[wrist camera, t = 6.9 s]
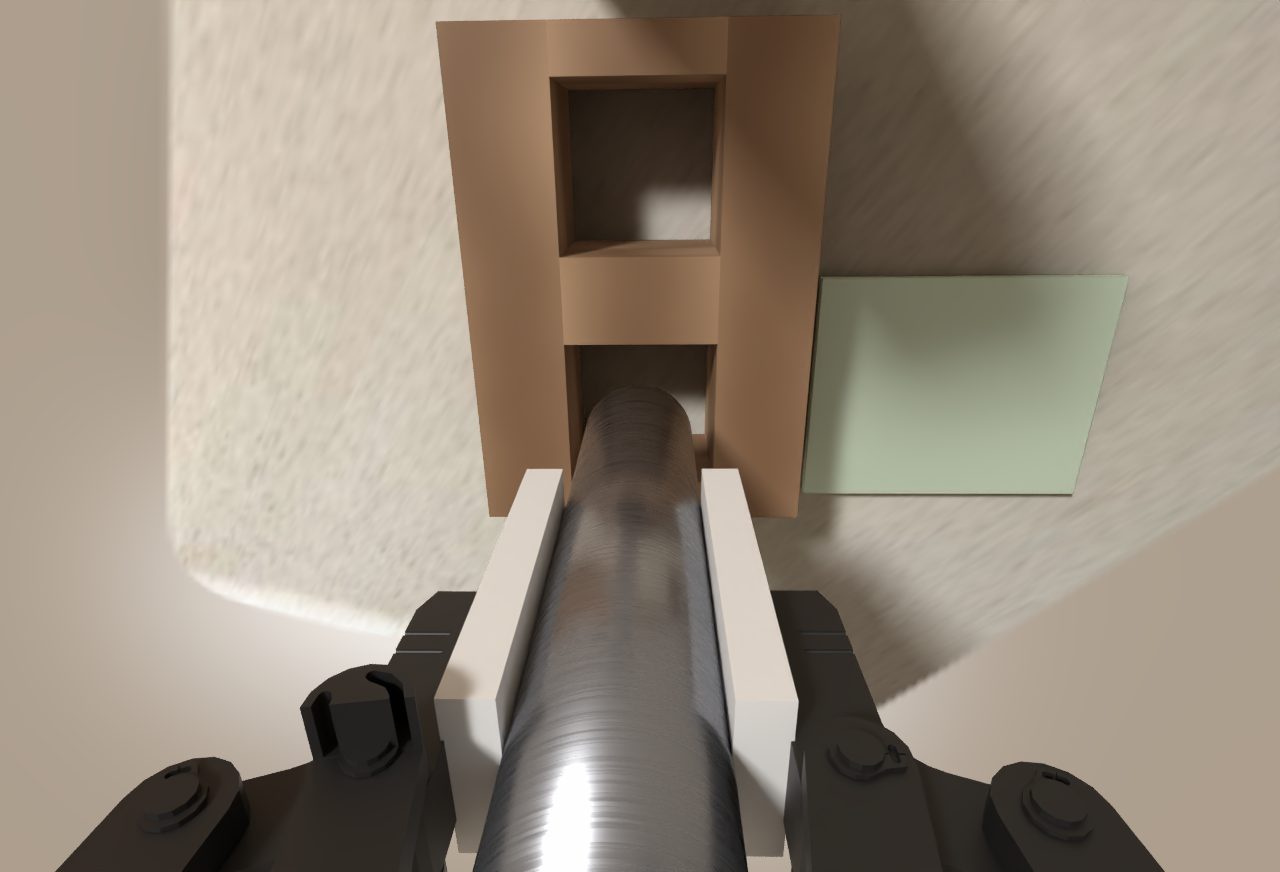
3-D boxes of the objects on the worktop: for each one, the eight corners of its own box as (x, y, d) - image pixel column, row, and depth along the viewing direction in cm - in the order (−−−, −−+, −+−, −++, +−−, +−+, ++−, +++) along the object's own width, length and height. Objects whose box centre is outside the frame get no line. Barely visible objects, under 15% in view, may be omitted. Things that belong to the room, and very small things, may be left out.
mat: (1121, 274, 23) (1129, 276, 22) (1066, 488, 26) (1072, 493, 25) (820, 276, 23) (822, 278, 23) (801, 488, 26) (803, 493, 26)
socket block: (808, 40, 20) (841, 14, 17) (776, 464, 26) (797, 517, 22) (475, 44, 21) (435, 21, 17) (513, 464, 26) (489, 516, 22)
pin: (692, 384, 19) (775, 902, 6) (690, 482, 20) (754, 1097, 7) (583, 384, 19) (424, 896, 6) (587, 482, 20) (462, 1090, 7)
